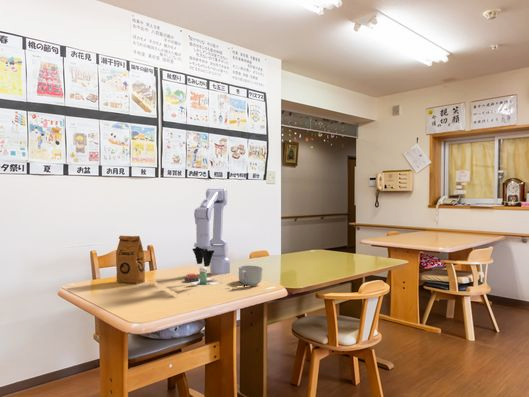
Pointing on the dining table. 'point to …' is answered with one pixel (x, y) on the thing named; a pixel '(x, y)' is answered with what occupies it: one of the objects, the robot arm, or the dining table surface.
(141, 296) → the dining table surface
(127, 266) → the coffee package
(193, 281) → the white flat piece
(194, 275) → the button
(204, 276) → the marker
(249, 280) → the teacup
